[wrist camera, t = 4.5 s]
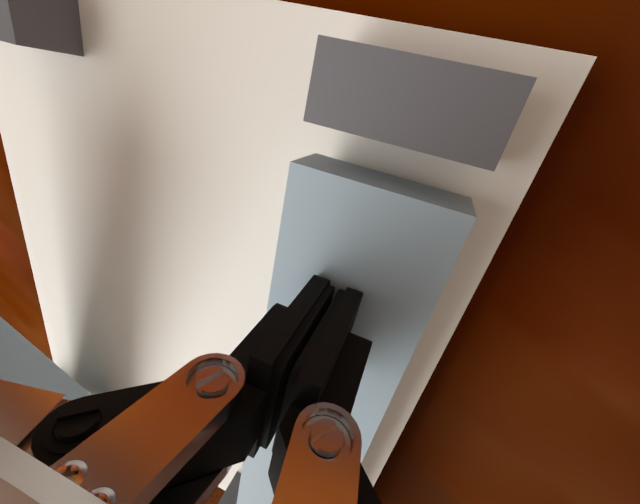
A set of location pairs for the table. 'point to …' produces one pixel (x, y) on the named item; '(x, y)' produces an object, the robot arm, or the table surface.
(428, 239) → the lever
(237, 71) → the board
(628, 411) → the table surface
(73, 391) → the lever
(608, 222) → the table surface
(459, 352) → the table surface
